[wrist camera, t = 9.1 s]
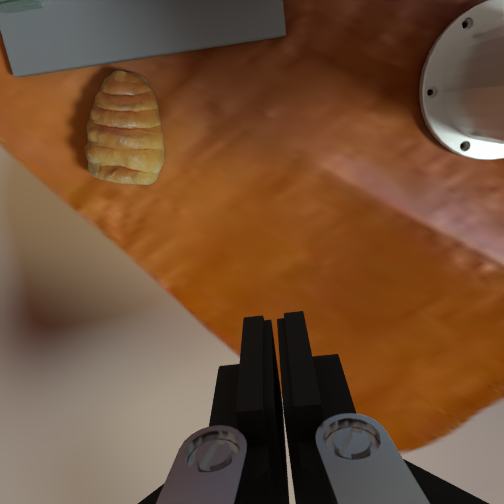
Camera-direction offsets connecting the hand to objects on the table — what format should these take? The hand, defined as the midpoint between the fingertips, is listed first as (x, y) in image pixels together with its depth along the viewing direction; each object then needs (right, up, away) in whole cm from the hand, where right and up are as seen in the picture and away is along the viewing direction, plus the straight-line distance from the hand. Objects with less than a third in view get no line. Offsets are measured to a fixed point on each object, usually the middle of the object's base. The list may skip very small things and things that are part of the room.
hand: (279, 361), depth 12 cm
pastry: (-12, +14, +27) cm, 32 cm away
